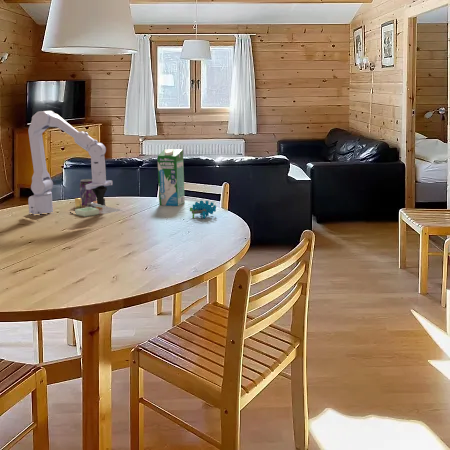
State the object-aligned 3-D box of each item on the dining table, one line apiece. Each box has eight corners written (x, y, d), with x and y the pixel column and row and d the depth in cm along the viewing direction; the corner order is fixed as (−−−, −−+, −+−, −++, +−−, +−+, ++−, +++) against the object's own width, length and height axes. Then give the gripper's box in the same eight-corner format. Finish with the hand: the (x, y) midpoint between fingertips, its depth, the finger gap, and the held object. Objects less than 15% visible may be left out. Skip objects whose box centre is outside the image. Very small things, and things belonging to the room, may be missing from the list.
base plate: (85, 218, 253) (84, 209, 252) (63, 213, 265) (63, 204, 264) (123, 211, 266) (122, 202, 265) (101, 207, 278) (100, 198, 277)
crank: (85, 205, 265) (85, 197, 264) (91, 204, 267) (90, 196, 266) (101, 207, 258) (101, 199, 257) (107, 206, 261) (106, 198, 260)
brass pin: (77, 212, 263) (77, 199, 262) (74, 211, 265) (73, 198, 264) (83, 211, 265) (82, 198, 264) (79, 210, 267) (79, 197, 266)
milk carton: (159, 205, 279) (157, 150, 274) (166, 201, 288) (164, 148, 282) (177, 206, 277) (175, 150, 271) (184, 202, 285) (183, 148, 280)
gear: (219, 211, 256) (213, 197, 247) (218, 223, 252) (212, 209, 244) (193, 214, 258) (186, 201, 250) (192, 226, 255) (186, 213, 246)
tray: (84, 216, 253) (84, 211, 252) (75, 214, 258) (75, 209, 257) (99, 214, 258) (98, 209, 257) (89, 212, 263) (89, 207, 262)
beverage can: (79, 205, 283) (77, 179, 280) (94, 203, 286) (93, 178, 283) (82, 207, 276) (81, 181, 274) (98, 206, 279) (96, 180, 277)
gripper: (93, 174, 248) (95, 207, 250) (117, 170, 260) (119, 202, 263) (81, 173, 251) (83, 206, 254) (104, 169, 263) (106, 200, 266)
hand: (100, 204), depth 259 cm, fingers closed, pressing on crank
